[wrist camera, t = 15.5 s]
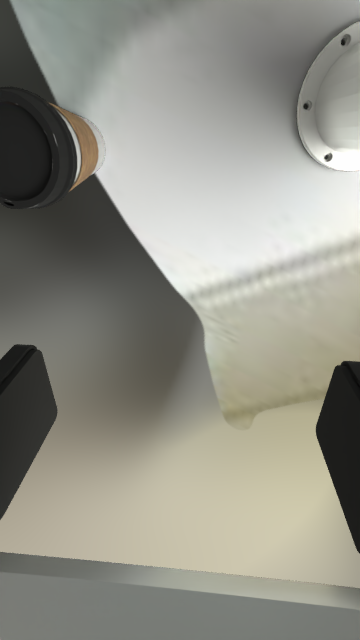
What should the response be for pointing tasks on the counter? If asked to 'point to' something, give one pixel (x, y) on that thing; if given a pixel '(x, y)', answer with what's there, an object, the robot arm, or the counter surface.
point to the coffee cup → (43, 150)
